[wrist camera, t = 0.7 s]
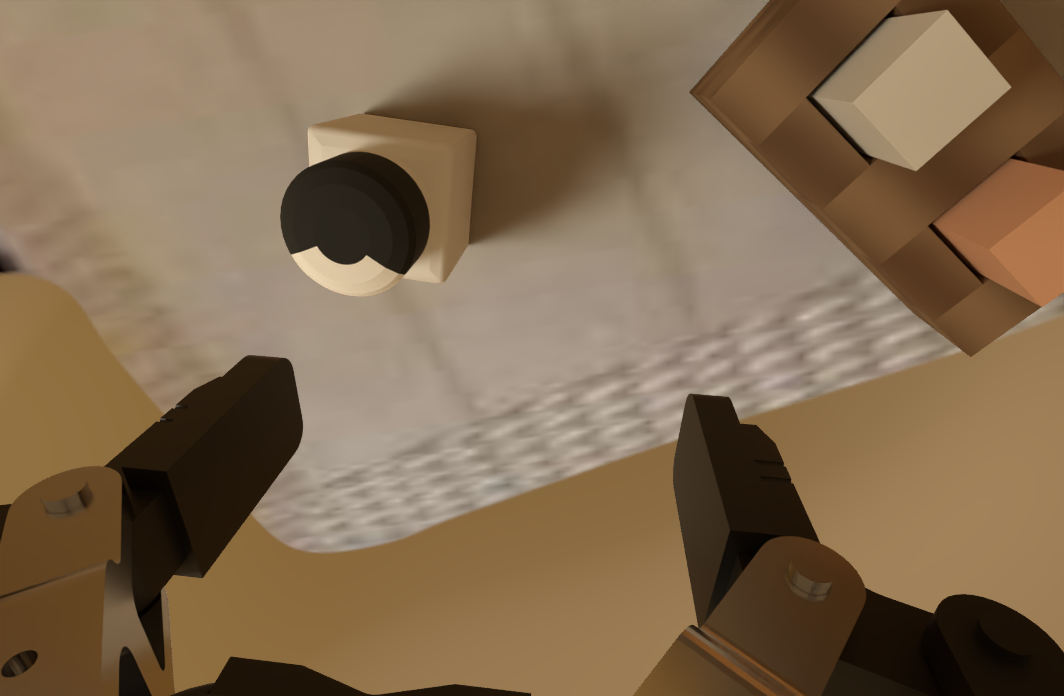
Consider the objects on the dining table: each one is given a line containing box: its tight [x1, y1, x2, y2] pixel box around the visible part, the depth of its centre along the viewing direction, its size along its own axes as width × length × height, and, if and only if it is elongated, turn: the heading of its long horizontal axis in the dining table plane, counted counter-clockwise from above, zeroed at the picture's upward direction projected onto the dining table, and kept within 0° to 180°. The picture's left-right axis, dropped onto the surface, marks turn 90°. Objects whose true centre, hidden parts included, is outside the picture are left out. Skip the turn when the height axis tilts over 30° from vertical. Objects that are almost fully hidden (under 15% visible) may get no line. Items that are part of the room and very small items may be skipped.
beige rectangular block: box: [806, 10, 1011, 171], centre depth 24 cm, size 4×4×6 cm
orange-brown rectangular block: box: [928, 158, 1064, 307], centre depth 26 cm, size 4×4×6 cm
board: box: [690, 0, 1064, 357], centre depth 29 cm, size 10×20×6 cm, turn 51°
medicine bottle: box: [280, 114, 477, 296], centre depth 30 cm, size 7×7×12 cm
